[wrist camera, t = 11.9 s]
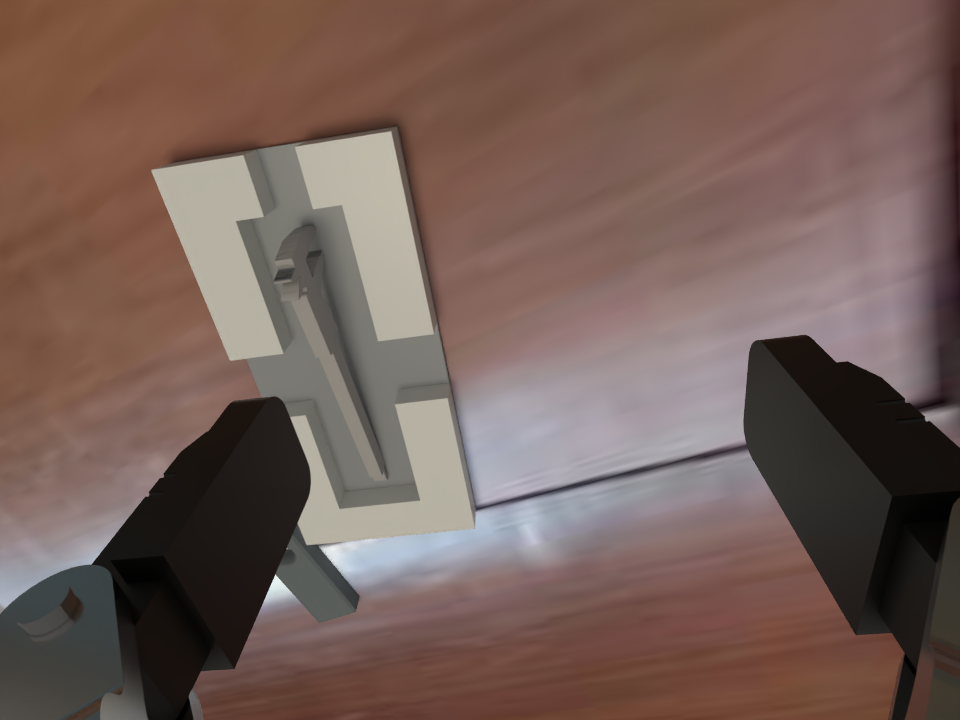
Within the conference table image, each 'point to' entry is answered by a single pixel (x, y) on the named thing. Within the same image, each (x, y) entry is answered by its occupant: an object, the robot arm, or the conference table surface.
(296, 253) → the caliper
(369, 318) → the case insert
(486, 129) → the conference table surface
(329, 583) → the bracket
